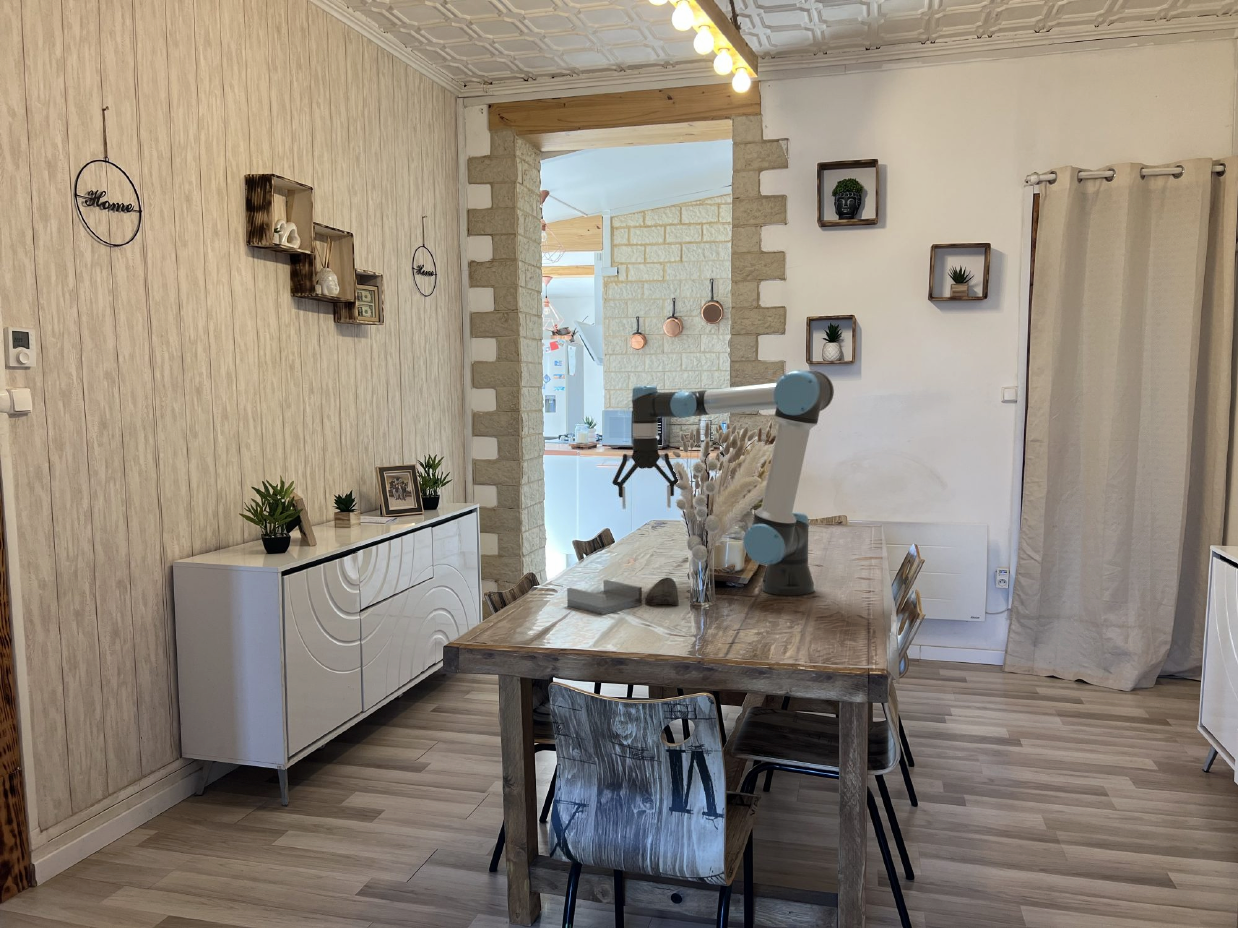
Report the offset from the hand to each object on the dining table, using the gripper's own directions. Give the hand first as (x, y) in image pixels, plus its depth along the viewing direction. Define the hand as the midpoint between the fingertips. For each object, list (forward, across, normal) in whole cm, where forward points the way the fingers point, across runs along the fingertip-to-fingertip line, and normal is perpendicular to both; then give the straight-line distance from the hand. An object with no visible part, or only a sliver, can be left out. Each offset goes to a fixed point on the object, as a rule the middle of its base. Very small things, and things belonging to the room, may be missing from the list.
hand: (646, 507), depth 272 cm
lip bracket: (+24, +14, +25) cm, 37 cm away
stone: (+24, -2, +24) cm, 34 cm away
